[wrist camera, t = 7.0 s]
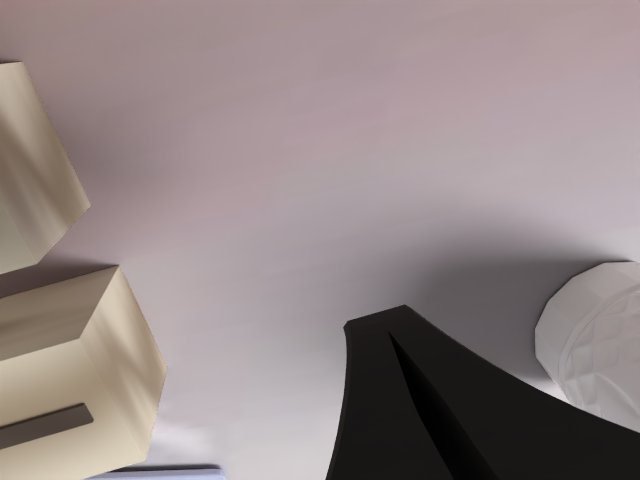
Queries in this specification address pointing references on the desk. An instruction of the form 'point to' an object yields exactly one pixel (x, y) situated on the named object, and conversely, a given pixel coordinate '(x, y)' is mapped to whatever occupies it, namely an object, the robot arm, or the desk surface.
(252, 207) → the desk surface
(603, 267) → the white cup
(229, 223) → the desk surface
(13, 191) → the plain birch block
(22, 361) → the birch block marked 1
